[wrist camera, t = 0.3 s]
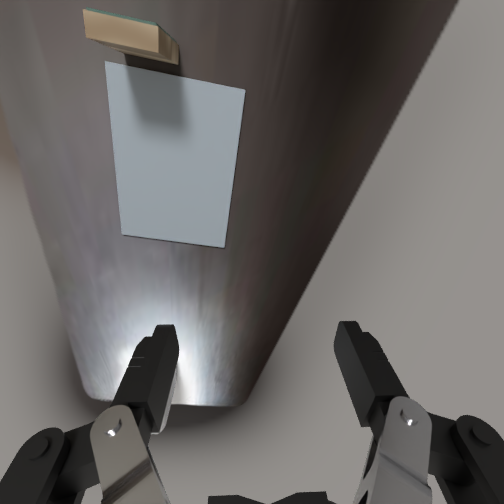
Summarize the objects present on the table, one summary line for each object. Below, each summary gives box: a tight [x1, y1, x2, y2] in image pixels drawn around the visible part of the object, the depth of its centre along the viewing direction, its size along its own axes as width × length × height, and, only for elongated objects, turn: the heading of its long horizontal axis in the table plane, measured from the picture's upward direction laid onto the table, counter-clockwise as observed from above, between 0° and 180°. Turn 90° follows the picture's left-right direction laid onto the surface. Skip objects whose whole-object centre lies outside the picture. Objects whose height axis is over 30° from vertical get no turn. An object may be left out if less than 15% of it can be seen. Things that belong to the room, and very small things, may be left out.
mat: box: [105, 61, 245, 248], centre depth 35 cm, size 22×16×1 cm
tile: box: [83, 7, 179, 65], centre depth 25 cm, size 2×6×8 cm, turn 80°
